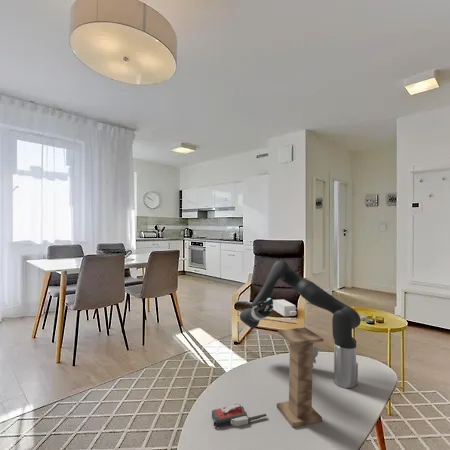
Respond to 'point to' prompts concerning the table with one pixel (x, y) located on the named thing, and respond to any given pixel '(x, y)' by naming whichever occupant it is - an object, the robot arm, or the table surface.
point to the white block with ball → (284, 307)
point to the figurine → (315, 353)
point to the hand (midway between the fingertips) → (275, 300)
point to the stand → (300, 378)
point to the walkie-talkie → (232, 416)
